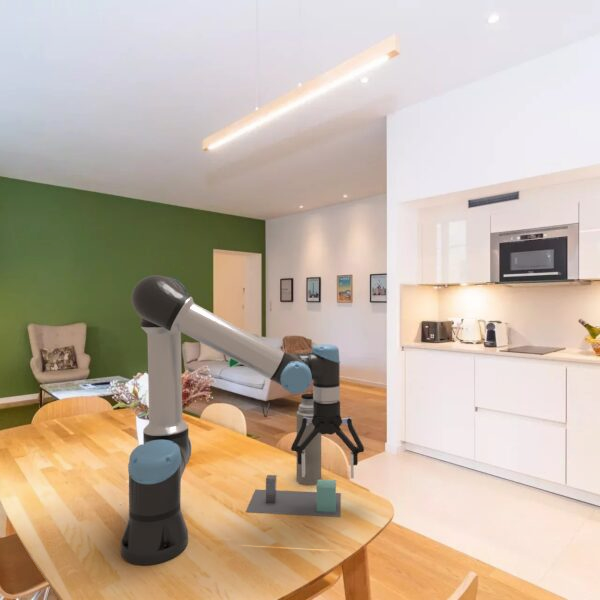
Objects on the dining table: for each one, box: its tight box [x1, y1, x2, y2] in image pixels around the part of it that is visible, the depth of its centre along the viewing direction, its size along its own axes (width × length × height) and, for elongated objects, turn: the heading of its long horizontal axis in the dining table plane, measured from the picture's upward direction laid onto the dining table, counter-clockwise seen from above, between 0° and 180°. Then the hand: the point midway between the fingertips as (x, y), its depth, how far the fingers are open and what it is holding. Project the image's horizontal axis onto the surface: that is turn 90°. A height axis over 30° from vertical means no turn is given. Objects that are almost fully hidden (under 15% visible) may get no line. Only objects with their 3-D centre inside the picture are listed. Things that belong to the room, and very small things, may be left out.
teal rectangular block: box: [316, 479, 337, 512], centre depth 121 cm, size 5×5×7 cm
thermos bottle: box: [296, 393, 322, 487], centre depth 138 cm, size 8×8×28 cm
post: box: [265, 474, 277, 504], centre depth 124 cm, size 3×3×7 cm
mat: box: [245, 488, 342, 518], centre depth 123 cm, size 14×26×1 cm, turn 85°
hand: (327, 475), depth 121 cm, fingers open, 13 cm apart
